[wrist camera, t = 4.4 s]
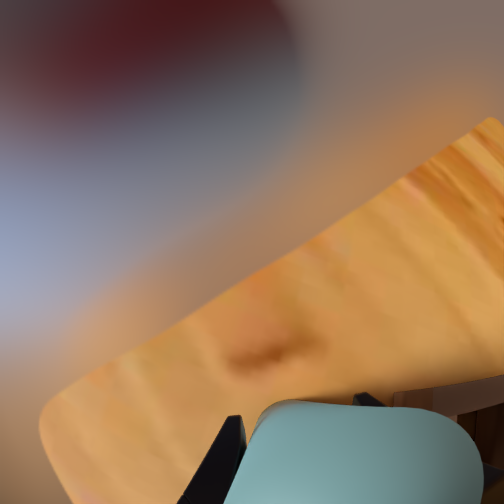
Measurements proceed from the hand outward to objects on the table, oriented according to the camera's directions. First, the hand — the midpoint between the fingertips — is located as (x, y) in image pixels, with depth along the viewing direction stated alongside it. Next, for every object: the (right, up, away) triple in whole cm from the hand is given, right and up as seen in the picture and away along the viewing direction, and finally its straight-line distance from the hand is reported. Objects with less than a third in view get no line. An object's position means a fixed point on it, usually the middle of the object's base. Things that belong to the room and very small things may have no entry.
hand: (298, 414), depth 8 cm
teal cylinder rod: (+1, -4, +5) cm, 7 cm away
